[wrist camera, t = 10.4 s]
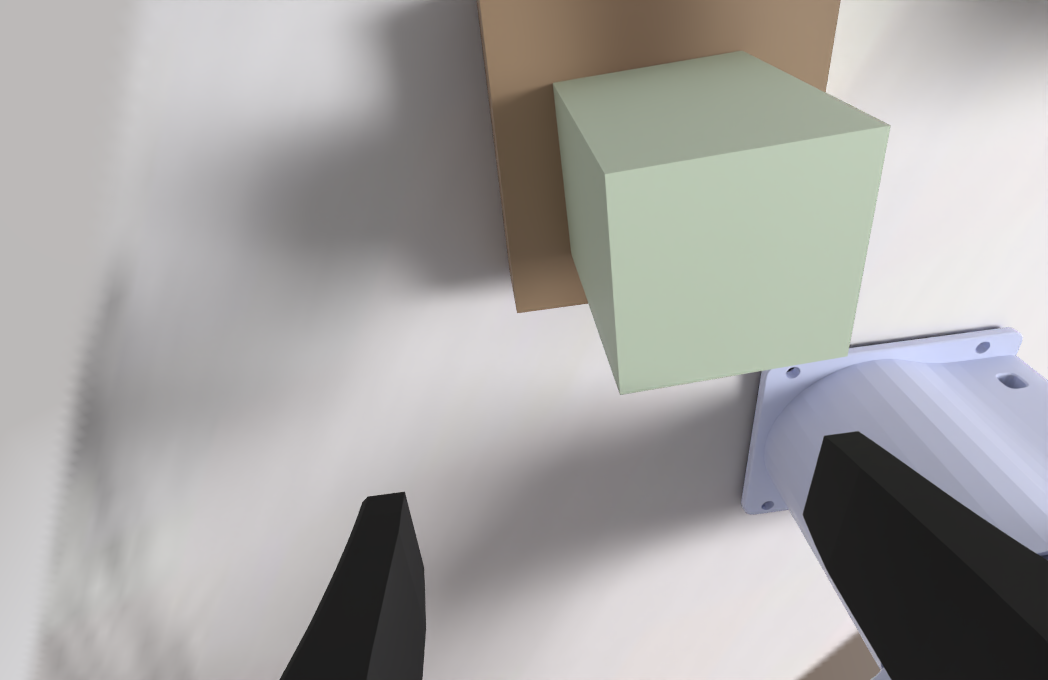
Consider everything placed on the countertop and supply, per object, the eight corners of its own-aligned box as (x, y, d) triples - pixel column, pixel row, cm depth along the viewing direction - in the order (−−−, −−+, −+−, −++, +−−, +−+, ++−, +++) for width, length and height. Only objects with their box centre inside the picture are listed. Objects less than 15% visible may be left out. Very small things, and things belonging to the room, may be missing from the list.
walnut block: (787, -59, 16) (848, -52, 14) (753, 231, 21) (795, 275, 18) (473, -21, 16) (478, -7, 14) (508, 263, 20) (517, 312, 18)
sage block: (742, 50, 15) (889, 125, 10) (733, 226, 17) (847, 356, 12) (552, 82, 15) (605, 174, 10) (571, 253, 17) (619, 395, 12)
